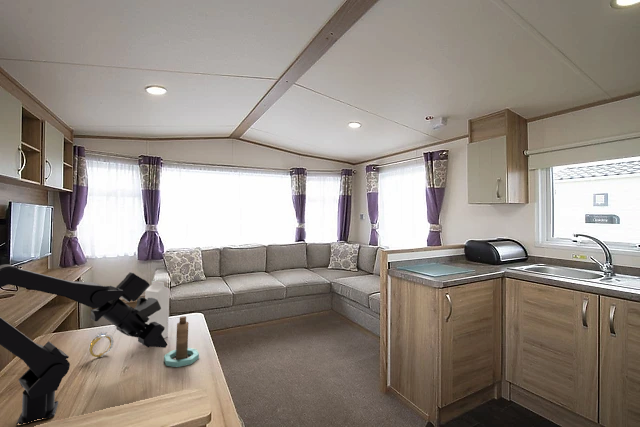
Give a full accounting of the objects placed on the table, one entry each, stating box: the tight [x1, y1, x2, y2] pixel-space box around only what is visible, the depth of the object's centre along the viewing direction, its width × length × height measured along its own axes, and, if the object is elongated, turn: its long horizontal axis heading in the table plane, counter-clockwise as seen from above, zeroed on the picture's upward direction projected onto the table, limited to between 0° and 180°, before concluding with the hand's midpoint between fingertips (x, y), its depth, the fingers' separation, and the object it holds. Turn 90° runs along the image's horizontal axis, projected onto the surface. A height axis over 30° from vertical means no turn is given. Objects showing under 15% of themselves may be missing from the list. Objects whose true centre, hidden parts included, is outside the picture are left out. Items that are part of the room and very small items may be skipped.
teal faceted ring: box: [163, 347, 200, 368], centre depth 102 cm, size 10×10×2 cm
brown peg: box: [175, 315, 189, 360], centre depth 102 cm, size 4×4×14 cm
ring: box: [88, 331, 114, 358], centre depth 102 cm, size 7×3×8 cm, turn 145°
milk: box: [144, 280, 170, 339], centre depth 118 cm, size 6×6×22 cm
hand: (158, 342), depth 96 cm, fingers open, 9 cm apart
